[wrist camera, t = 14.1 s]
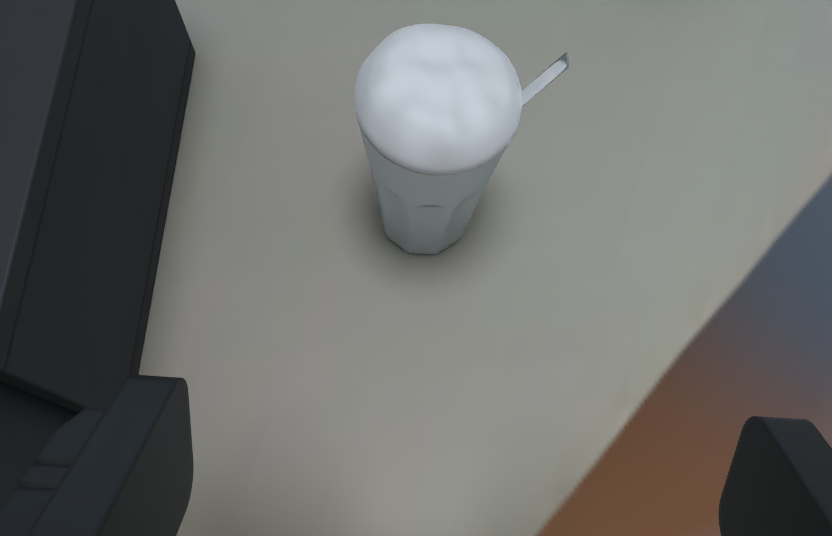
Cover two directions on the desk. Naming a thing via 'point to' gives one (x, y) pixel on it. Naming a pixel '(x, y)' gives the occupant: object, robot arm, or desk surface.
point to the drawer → (24, 432)
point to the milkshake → (437, 127)
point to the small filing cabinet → (84, 186)
